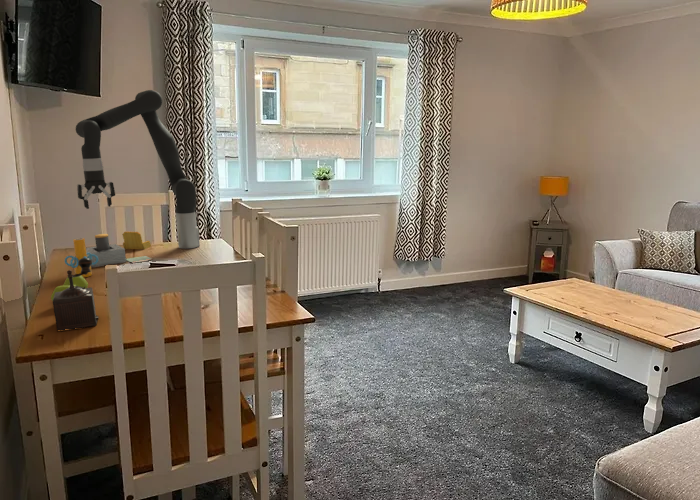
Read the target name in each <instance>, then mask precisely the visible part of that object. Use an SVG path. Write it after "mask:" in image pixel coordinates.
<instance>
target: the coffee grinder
mask: <svg viewBox="0 0 700 500" xmlns="http://www.w3.org/2000/svg"><path fill="white" fill-rule="evenodd" d="M91 264H92V260H91V259H89V258H82V259H80V260H79V261H78V265H79V266H80V267H81V268H82V270H81V273H79V274H75V273H74V274H73V271H72V270H71V269H68V270H67V271H66V274H67V277H68V278H69V282H70V287H69V288H67V289H65V290H63V291H61V292H55V295H54V298H53V301H52V306H53V311H54V317H55V325H56V331H57V330H65V329H75V328H82V329H85V328H84V327H88V328H93V327H92V326H94V327H96V326H97V324H98V321H99V318H100V317H99V315H97V314H96V313H97V312H96V305H95V298H94V296H95V295H94V290H93V287H92V286H91V287H87V288H85V286H84V288H83V287H78V286H75V287H74V285H73V279H72V278H73V277H79V276H81V275H83V274H85V275H86V274H87V273H89V272H91V270H92V269H91V270H90V266H91ZM75 330H76V329H75Z"/></svg>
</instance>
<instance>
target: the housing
mask: <svg viewBox="0 0 700 500" xmlns="http://www.w3.org/2000/svg"><path fill="white" fill-rule="evenodd" d="M109 247H110V249H108V250H101V251H97V249H96V245H95V246H90V247H89V246H87V247H86V253H88V252H89V253H91V254H94V255H96V256H97V257H98V262H97V263H96V264H94V265H91V269H92V268H98V267H99V268H100V267H104V265H105V266H109V265H108V264H112V265H116V264H123V263H127V261H126V259H127V258H126V257H127V256H126V249H124V247H122V246H120V245H118V244H117V243H111V244H110V243H109ZM88 256H89V254H88V255H87V257H88ZM89 259H90V257H89ZM94 262H96V258H95V257H94V256H92V263H94Z"/></svg>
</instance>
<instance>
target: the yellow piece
mask: <svg viewBox="0 0 700 500" xmlns="http://www.w3.org/2000/svg"><path fill="white" fill-rule="evenodd" d="M122 238H123V242H122V246H123V248H124V249H125V250H146V249H148V248H151V247H152V245H151V242H150V240H146V241H143V239H142V235H141V233H140V232H138V231H124V232H123V233H122Z"/></svg>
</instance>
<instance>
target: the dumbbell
mask: <svg viewBox="0 0 700 500" xmlns="http://www.w3.org/2000/svg"><path fill="white" fill-rule="evenodd" d="M72 279H73V285H74V287H75V286H78V287H83V288H84V286H85V288H89V287H88V286H89V283H88V281H87V280H86V279H85V278H83V276H79V277H73V278H72ZM69 287H70V282H69V278H68V276H67V277H66V279H65V281H64V283H63V284H62V285H57V286H56V287H55V288H54V289H53V292H52V293H51V296H50V299H51V300H50V301H52V302H53V298H54V295H55V292H61V291H63V290H65V289H67V288H69Z"/></svg>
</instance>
